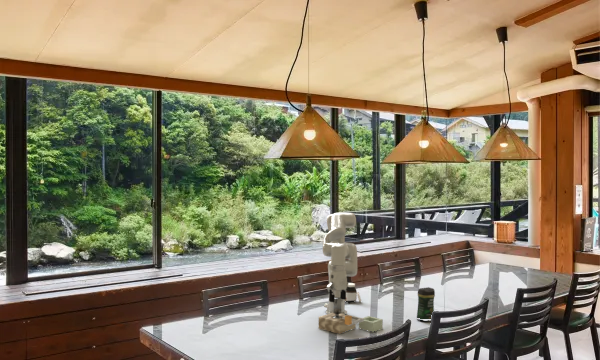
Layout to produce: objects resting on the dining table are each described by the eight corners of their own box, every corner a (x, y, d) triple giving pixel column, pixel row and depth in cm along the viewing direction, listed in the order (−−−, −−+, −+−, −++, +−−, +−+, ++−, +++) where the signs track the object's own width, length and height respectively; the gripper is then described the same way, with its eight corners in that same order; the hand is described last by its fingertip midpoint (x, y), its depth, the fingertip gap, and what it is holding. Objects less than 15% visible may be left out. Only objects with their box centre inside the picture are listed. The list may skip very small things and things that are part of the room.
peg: (331, 328, 259) (331, 298, 259) (336, 326, 262) (336, 296, 262) (337, 330, 256) (338, 299, 256) (342, 328, 259) (343, 298, 259)
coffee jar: (424, 323, 272) (425, 289, 272) (414, 319, 278) (415, 287, 279) (436, 320, 277) (437, 288, 277) (426, 317, 283) (427, 285, 284)
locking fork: (332, 322, 247) (332, 313, 247) (349, 317, 257) (349, 308, 257) (348, 326, 240) (348, 317, 240) (364, 321, 251) (364, 311, 251)
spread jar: (340, 300, 322) (341, 282, 322) (356, 299, 326) (356, 281, 326) (348, 304, 311) (349, 286, 311) (364, 303, 315) (364, 285, 315)
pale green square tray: (358, 328, 259) (359, 319, 259) (368, 325, 266) (368, 316, 266) (373, 332, 253) (373, 322, 253) (382, 328, 260) (382, 319, 260)
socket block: (318, 328, 258) (318, 316, 258) (334, 322, 269) (334, 312, 269) (339, 334, 249) (339, 322, 249) (355, 328, 259) (355, 317, 259)
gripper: (333, 270, 250) (333, 304, 249) (353, 267, 263) (352, 299, 262) (322, 268, 255) (321, 301, 254) (342, 265, 268) (341, 297, 267)
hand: (337, 300), depth 258 cm, fingers open, 9 cm apart
